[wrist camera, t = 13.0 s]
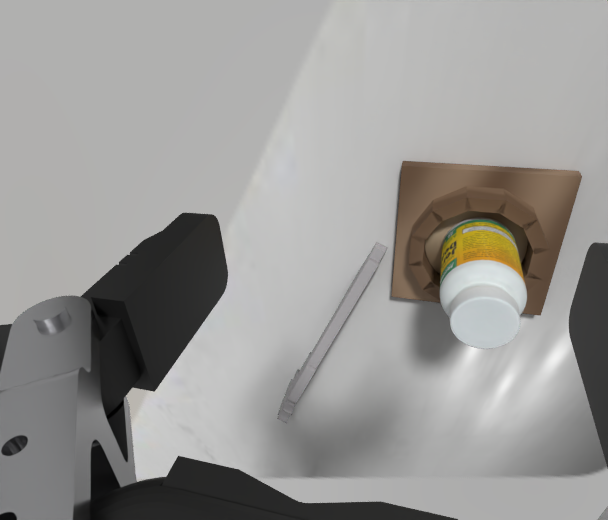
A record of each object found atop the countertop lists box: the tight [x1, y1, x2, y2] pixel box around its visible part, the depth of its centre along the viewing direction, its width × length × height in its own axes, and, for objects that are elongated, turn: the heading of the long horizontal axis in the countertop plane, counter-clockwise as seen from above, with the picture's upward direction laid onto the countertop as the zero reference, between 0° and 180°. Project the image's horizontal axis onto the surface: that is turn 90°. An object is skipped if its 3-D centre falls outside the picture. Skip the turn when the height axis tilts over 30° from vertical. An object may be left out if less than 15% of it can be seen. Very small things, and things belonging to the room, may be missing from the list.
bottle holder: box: [392, 161, 582, 315], centre depth 36 cm, size 12×12×3 cm
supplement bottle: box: [440, 217, 527, 349], centre depth 32 cm, size 5×5×10 cm
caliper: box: [278, 243, 387, 423], centre depth 43 cm, size 21×1×6 cm, turn 157°
